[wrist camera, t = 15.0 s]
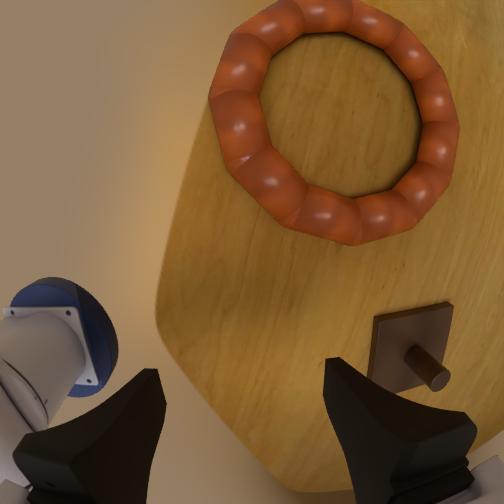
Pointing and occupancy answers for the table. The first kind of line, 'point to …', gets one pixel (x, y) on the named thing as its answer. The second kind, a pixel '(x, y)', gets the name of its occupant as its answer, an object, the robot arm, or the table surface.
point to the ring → (274, 164)
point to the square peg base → (411, 348)
